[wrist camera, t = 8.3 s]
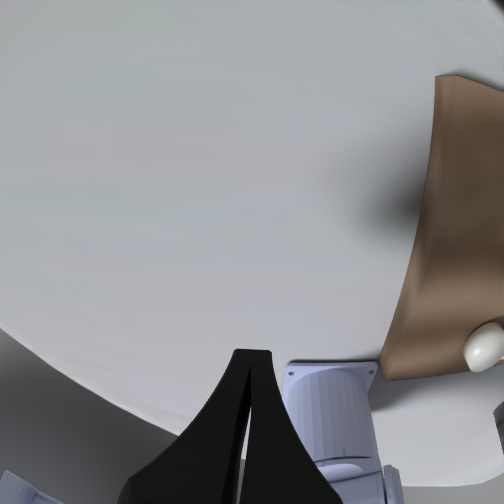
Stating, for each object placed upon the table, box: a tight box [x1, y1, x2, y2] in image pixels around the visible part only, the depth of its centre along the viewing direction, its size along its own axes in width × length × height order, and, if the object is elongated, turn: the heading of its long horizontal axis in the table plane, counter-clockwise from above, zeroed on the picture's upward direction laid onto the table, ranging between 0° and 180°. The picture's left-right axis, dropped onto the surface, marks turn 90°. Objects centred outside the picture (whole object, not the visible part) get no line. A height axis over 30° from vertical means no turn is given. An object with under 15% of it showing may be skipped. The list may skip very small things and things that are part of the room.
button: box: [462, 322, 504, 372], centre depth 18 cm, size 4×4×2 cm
